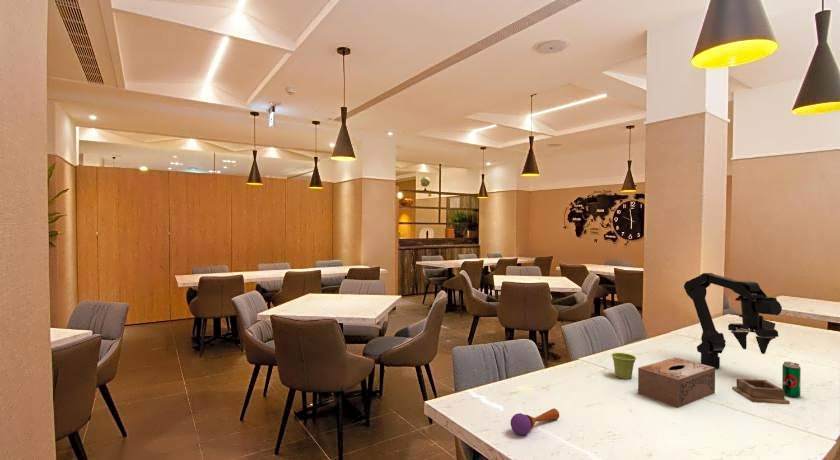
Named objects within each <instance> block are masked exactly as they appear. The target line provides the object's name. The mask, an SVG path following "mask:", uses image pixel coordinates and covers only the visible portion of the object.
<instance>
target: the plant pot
mask: <svg viewBox="0 0 840 460" xmlns="http://www.w3.org/2000/svg"><path fill="white" fill-rule="evenodd" d="M611 357H612V360H613V365H614V366H613V367H614V373H615V377H618V378H620V379H625V380H629V379H632V376H633V372H634V371H633V370H634V365H635V361H636V360H637V357H636V356H635V355H633V354H629V353H625V352H613V353H611Z"/></svg>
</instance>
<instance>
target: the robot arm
mask: <svg viewBox="0 0 840 460" xmlns="http://www.w3.org/2000/svg"><path fill="white" fill-rule="evenodd" d="M711 284H712V285H716V286H718V287H723V288H725V289H728V290H731V291H732V292H734V293H735V294H737V295H738V296H737V297H736V298H735V299H734V300H735V301H738V302H740V307H741V310H740V311H741V314H739V315H738V317H739V318H741V319H742V321H741V322H742V323H741V322H740V323H738V322H737V323H735V322H733V323H728V325H727V327H728V331H730V333H732V335H733V336H734V338H736V340H737V342H738V343H739V345H740V347H741V348H742V350H747V345H748V344H747V336H748V334H749V333H754V334H755V335H756V336H755V339H756V342H757V344H758V345H757V346H758V348H759V351H760V353H761V355H764V354H765V355H766V352H767V348H768V346H769V344H770V342H771V341H772V340H774V339H776V338H779V331H778V330H777V329H776V323H775V322H772V321H771V320H766V319H764V316H763V315H771V316H778V315H780V314H781V313H782V311H783V307H782V305H781V302H780V301H778V300H777V297H775V296H773V297H772V296H770V297H769V296H768V295H767V294H766V293H765V292H764V290H763V289H762V288H761V286H760V285H759V283H758V282H756V281H750V280H749V281H748V280H737V279H732V278H730V277H725V276H722V275H718V274H714V273H713V272H703V273H701V274H700V275H698V276H696V277H694V278H692V279H690V280H687V281H685V282H684V284H683V289H684V291H685V293H686V295H687V296H688V297H689V299H691V301H692V302H693V305H694V307H695V311H696V314H697V317H698V320H699V322H700V323H699V324H700V326H701V329H702V333H701V338H700V341H701V343H699V345H698V344H697V346H696V350H697V353H700V364H704V365H707V366H711V367H715V370H718V369H719V368H720V367H721V357H720V356H719V354H722V353H723V351H724V350H725V347H726V343H727V341H726V339H725V337H724V336H725V335H724V333H723V332H719V331H718V330H717V329H716V326H715V324H714V321H713V317H712V316H711V315H712V314H711V312H710V309H709V306H708V302H707V300H706V298H707V297H706V296H707V292H708V291H707V288H708V287H710V286H711ZM760 314H761V315H760ZM762 314H763V315H762Z"/></svg>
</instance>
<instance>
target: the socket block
mask: <svg viewBox="0 0 840 460" xmlns="http://www.w3.org/2000/svg"><path fill="white" fill-rule="evenodd" d="M731 389H732V391H735V392H736V393H738V394H740V395H741V396H742V397H744V398H746V399H747V400H749V401H750V402H751V403H763V404H764V403H765V404H781V405H782V404H784V405H790V404H791V403H790V400H789V399H787V398H785V397H786V395H785V390H783V389H782V387H779V385H778V386H777V385H775V384H773V383H772V382H770V381H768V380H766V379H750V378H749V379H748V378H736V386H732V387H731Z"/></svg>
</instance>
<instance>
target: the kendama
mask: <svg viewBox="0 0 840 460" xmlns="http://www.w3.org/2000/svg"><path fill="white" fill-rule="evenodd" d="M559 418H560V413H559V410H558V409H556V408H551V409H549V410H547V411H545V412H543V413H542V414H540V415H537V416H535V417H533V416H532V415H531V416H530V415H529V414H524V413H521V412H518V413H515V414H514V415H512V417H511V419H510V428H511V431H513V432H514V434H516V435H519V436H525V435H527V434H529V432H530V431H531V429H533V428H534V426H535V424H536V422H545V421H553V420H554V421H555V420H558V419H559Z"/></svg>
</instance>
